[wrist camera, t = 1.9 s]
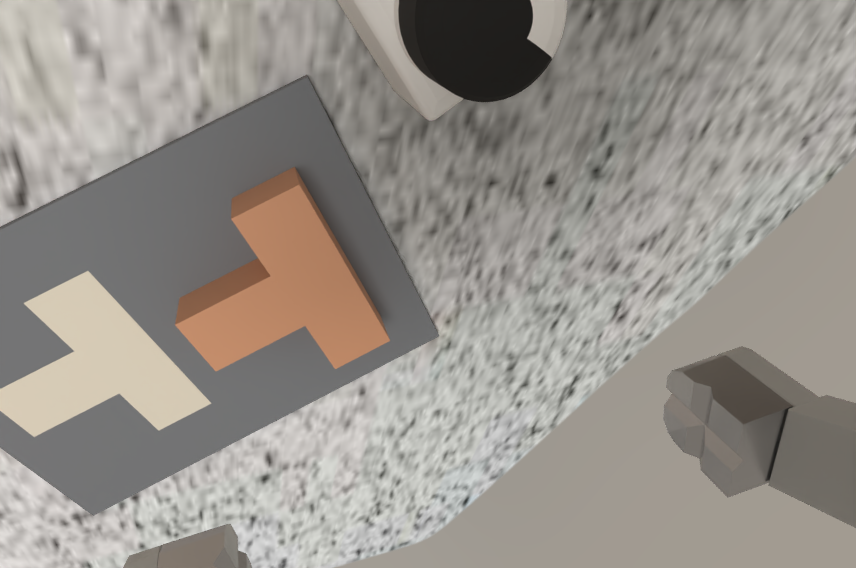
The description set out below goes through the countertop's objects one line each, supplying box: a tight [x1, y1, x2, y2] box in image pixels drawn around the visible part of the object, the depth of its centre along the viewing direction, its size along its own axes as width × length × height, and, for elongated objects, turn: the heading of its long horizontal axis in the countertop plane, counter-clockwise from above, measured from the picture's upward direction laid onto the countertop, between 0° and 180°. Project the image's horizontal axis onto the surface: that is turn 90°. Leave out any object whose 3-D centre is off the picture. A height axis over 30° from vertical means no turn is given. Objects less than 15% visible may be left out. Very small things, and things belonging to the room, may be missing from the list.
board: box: [0, 75, 439, 516], centre depth 35 cm, size 28×20×1 cm
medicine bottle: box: [337, 0, 567, 121], centre depth 25 cm, size 7×7×12 cm
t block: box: [175, 167, 390, 371], centre depth 34 cm, size 10×12×3 cm
